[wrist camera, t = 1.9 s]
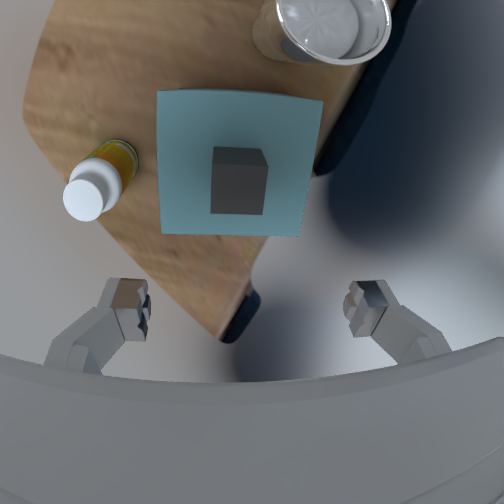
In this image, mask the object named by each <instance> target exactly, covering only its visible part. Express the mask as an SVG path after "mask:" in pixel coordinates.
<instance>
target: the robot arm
mask: <svg viewBox="0 0 504 504" xmlns="http://www.w3.org/2000/svg"><path fill="white" fill-rule="evenodd" d="M147 290H148V285H147V281H146V280H145V279H128V278H109V279H108V280H107V282H106V284H105V287H104V290H103V292H102V295H101V298H100V300H99V303H98V305H97V307H93V308H92V309H90V310H89V311H88V312H87V313H85V314H84V315H83V316H81V317H80V318H79V319H78V320H76V321H75V322H74V323H73V324H71V325H70V326H69V327H68V328H67V329H65V330H64V331H63V332H62V333H60V334H59V335H58V336H57V337H56V338H54V339H53V341H52V343H51V346H50V348H49V351H48V354H47V356H46V360H45V362H44V365H41V364H37V363H33V362H28V361H24V360H20V359H16V358H13V357H9V356H5V355H2V354H0V504H504V337H496V338H493V339H491V340H488V341H485V342H482V343H479V344H476V345H473V346H470V347H466V348H463V349H460V350H456V351H453V352H452V350H451V348H450V346H449V345H448V343H447V341H446V339H445V338H444V336H443V334H442V332H440V331H439V330H437V329H436V328H435V327H433V326H432V325H431V324H429V323H428V322H426V321H425V320H423V319H422V318H421V317H419V316H417V315H416V314H415V313H413V312H412V311H410V310H409V309H407V308H406V307H405V306H403V305H402V306H401V305H400V304H399V302H398V301H397V299H396V297H395V296H394V294H393V292H392V291H391V289H390V287H389V286H388V284H387V282H386V281H384V280H373V281H372V280H368V281H352V283H351V284H350V286H349V290H350V293H349V294H347V295H346V296H345V299H344V302H343V311H344V315H345V317H346V318H347V319H348V320H349V321H350V324H349V327H350V329H351V332H352V334H353V337H367V336H371V338H372V339H373V340H375V342H376V343H378V344H379V345H380V346H381V347H382V348H383V349H384V350H385V351H386V352H387V353H388V354H389V355H390V356H391V357H392V358H393V359H394V360H395V361H396V362H397V363H398V364H397V365H395V366H390V367H384V368H379V369H373V370H368V371H362V372H355V373H349V374H343V375H335V376H327V377H318V378H309V379H298V380H285V381H270V382H247V383H190V382H167V381H151V380H140V379H129V378H120V377H111V376H104V375H103V374H102V372H101V371H100V370H101V369H102V368H103V367H104V365H105V364H106V363H107V362H108V361H109V360H110V359H111V357H112V356H113V355H114V354H115V353H116V351H117V350H118V349H119V348H120V347H121V346H122V345H123V344H124V342H125V341H143V342H145V341H146V336H147V330H148V327H147V321H148V320H149V319H150V314H151V301H150V296H149V295H148V294H147Z"/></svg>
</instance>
